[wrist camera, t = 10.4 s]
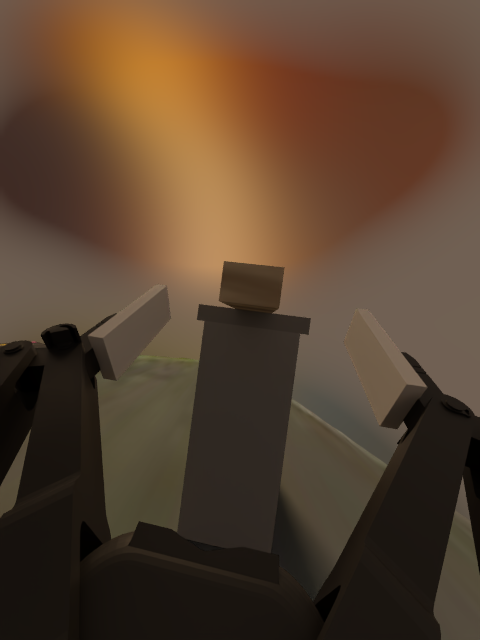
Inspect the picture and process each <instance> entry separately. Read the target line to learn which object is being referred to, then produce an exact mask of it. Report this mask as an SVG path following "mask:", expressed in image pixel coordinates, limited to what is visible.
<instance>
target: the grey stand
mask: <svg viewBox="0 0 480 640" xmlns="http://www.w3.org/2000/svg"><path fill="white" fill-rule="evenodd" d="M197 320H203V321H205V322H204V330H203V337H202V345H201V353H200V361H199V368H198V376H197V384H196V392H195V399H194V407H193V415H192V423H191V430H190V438H189V446H188V454H187V461H186V469H185V477H184V485H183V493H182V500H181V508H180V516H179V524H178V531H177V533H178V534H179V535H180V536H182V537H183V538H185V539H187V540H192V541H196V542H200V543H204V544H209V545H213V546H217V547H222V548H226V549H228V548H236V547H247V548H251V549H255V550H259V551H263V552H267V553H271V549H272V542H273V534H274V527H275V519H276V512H277V504H278V497H279V489H280V482H281V474H282V467H283V459H284V451H285V444H286V436H287V429H288V421H289V414H290V406H291V399H292V391H293V384H294V376H295V369H296V361H297V354H298V346H299V337H300V334H307V335H308V334H309V327H310V318H303V317H296V316H288V315H280V314H272V313H264V312H256V311H248V310H241V309H232V308H224V307H217V306H208V305H200V304H199V308H198V316H197Z"/></svg>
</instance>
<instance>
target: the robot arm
mask: <svg viewBox="0 0 480 640" xmlns="http://www.w3.org/2000/svg"><path fill="white" fill-rule="evenodd" d="M170 318H171V316H170V308H169V299H168V292H167V286H166V285H155V286H154V287H153V288H151V289H150V290H149V291H147V292H146V293H145V294H143V295H142V296H141V297H139V298H138V299H136V300H135V301H134V302H132V303H131V304H130V305H128V306H127V307H126V308H124V309H123V310H122V311H120V312H119V313H118V314H117V313H116V314H113V315H111V316H108V317H106V318H105V319H104V320H102V321H101V323H98V324H97V325H96V326H95V327H93V328H91V329H90V330H88V331H87V332H86V333H84V334H83V335H82V336H79V333H78V331H77V328H76V326H75V325H73V324H59V325H56V326H52V327H50V328H48V329H46V330H45V331H43V332H42V334H41V337H42V339H43V341H44V343H45V345H46V347H47V348H43V349H35V348H34V346H33V344H32V342H30V341H17V342H16V341H15V342H12V343H8V344H6V345H4V346H2V347H0V486H1V484H2V482H3V480H4V478H5V476H6V474H7V472H8V470H9V469H10V467H11V465H12V463H13V461H14V459H15V457H16V455H17V453H18V452H19V450H20V448H21V446H22V444H23V442H24V440H25V438H26V436H27V434H28V433H29V431H30V429H31V433H30V437H29V442H28V447H27V452H26V456H25V461H24V466H23V471H22V476H21V480H20V485H19V490H18V495H17V500H16V503H15V506H14V507H13V509H12V510H10V511H8V512H6V513H4V514H3V515H2V517H1V518H0V640H441V632H440V625H439V623H438V622H437V620H436V619H435V617H434V613H433V608H434V602H435V597H436V593H437V588H438V584H439V579H440V575H441V570H442V566H443V561H444V557H445V552H446V548H447V543H448V539H449V534H450V530H451V525H452V521H453V516H454V512H455V507H456V503H457V498H458V494H459V489H460V485H461V480H462V476H463V479H464V485H465V491H466V497H467V503H468V509H469V514H470V520H471V526H472V532H473V538H474V543H475V549H476V555H477V561H478V567H479V573H480V417H477V416H475V415H474V413H473V412H472V411H471V409H470V408H468V406H466V405H465V404H464V403H463V402H461V401H459V400H458V399H456V398H453V397H451V396H448V395H445V394H443V393H442V392H441V390H440V389H439V388H438V387H437V385H436V384H435V383H434V382H433V381H432V379H431V378H430V377H429V376H428V375H427V374H426V372H425V371H424V370H423V369H422V368H421V366H420V365H419V363H418V362H417V361H416V360H415V359H414V358H413V357H411V356H410V355H408V354H407V353H404V352H400V351H399V350H398V348H397V347H396V345H395V344H394V343H393V341H392V340H391V339H390V337H389V336H388V335H387V334H386V332H385V331H384V329H383V328H382V327H381V326H380V324H379V323H378V322H377V320H376V319H375V318H374V316H373V315H372V314H371V312H370V311H369V310H365V309H356V311H355V314H354V317H353V319H352V322H351V324H350V327H349V330H348V332H347V335H346V338H345V340H344V344H345V346H346V349H347V351H348V353H349V355H350V358H351V360H352V363H353V365H354V367H355V370H356V372H357V374H358V377H359V379H360V381H361V384H362V386H363V388H364V391H365V393H366V395H367V398H368V400H369V402H370V405H371V407H372V409H373V412H374V414H375V416H376V419H377V421H378V423H379V426H382V427H387V428H393V429H398V428H399V426H400V425H401V423H402V422H403V421H404V423H405V425H406V426H407V428H408V429H407V431H406V432H405V434H404V435H403V436H402V437H401V439H400V440H399V442H398V443H397V444H398V447H397V449H396V450H395V453H394V454H393V456H392V458H391V460H390V462H389V464H388V466H387V468H386V470H385V471H384V473H383V475H382V477H381V479H380V481H379V483H378V485H377V487H376V489H375V490H374V492H373V494H372V496H371V498H370V500H369V502H368V504H367V506H366V508H365V510H364V511H363V513H362V515H361V517H360V519H359V521H358V523H357V525H356V527H355V529H354V531H353V532H352V534H351V536H350V538H349V540H348V542H347V544H346V546H345V548H344V550H343V552H342V553H341V555H340V557H339V559H338V561H337V563H336V565H335V567H334V568H333V570H332V572H331V574H330V575H329V577H328V578H327V580H326V581H325V583H324V584H323V586H322V587H321V589H320V591H319V593H318V594H317V596H316V598H315V600H314V602H312V600H311V598H310V597H309V596H308V594H307V593H306V591H305V590H304V589H303V587H302V586H301V585H300V584H299V583H298V582H297V581H296V580H295V578H294V577H292V576H291V575H290V574H289V573H288V572H287V571H286V570H284V569H283V568H281V567H280V566H279V555H275V554H271V553H267V552H263V551H259V550H255V549H251V548H247V547H236V548H228V549H220V550H212V551H203V550H201V549H199V548H198V547H196V546H195V545H193V544H192V543H190V542H189V541H188V540H186V539H185V538H183V537H182V536H180V535H179V534H178V533H176V532H175V531H173V530H172V529H168V528H164V527H160V526H156V525H152V524H148V523H144V522H140V521H139V523H138V525H137V527H136V530H135V531H134V532H129V533H126V534H122V535H120V536H118V537H115V538H113V539H111V535H110V529H109V525H108V522H107V517H106V510H105V495H104V480H103V465H102V450H101V435H100V420H99V406H98V391H97V379H96V377H95V375H96V374H97V373H98V372H99V371H101V373H102V376H103V378H104V379H110V380H115V381H117V380H118V379H119V378H120V376H121V375H122V374H123V373H124V372H125V371H126V369H127V368H128V367H129V366H130V365H131V364H132V363H133V361H134V360H135V359H136V358H137V357H138V356H139V355H140V353H141V352H142V351H143V350H144V349H145V348H146V346H147V345H148V344H149V343H150V342H151V340H153V338H154V337H155V336H156V335H157V334H158V333H159V331H160V330H161V329H162V328H163V327H164V326H165V325H166V323H167V322H168V321H169V320H170ZM31 427H32V428H31Z"/></svg>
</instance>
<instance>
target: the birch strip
mask: <svg viewBox="0 0 480 640" xmlns="http://www.w3.org/2000/svg"><path fill="white" fill-rule="evenodd" d="M283 274H284V268H283V267H274V266H265V265H255V264H245V263H236V262H226V261H224V265H223V273H222V281H221V288H220V296H219V301H220V302H222V303H224V304H226V305H229V306H231V307H233V308H235V309H241V310H248V311H256V312H264V313H273V312H274V311H276V310H277V309H278V308H279V304H280V297H281V288H282V282H283Z"/></svg>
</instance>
